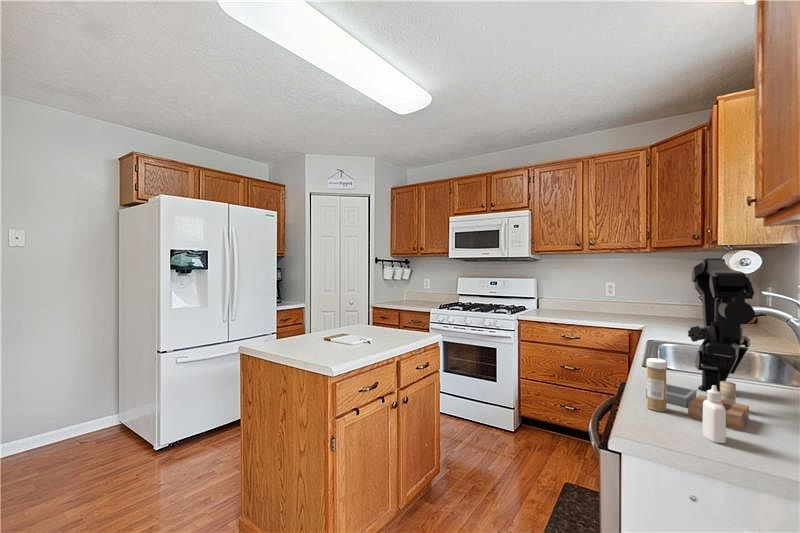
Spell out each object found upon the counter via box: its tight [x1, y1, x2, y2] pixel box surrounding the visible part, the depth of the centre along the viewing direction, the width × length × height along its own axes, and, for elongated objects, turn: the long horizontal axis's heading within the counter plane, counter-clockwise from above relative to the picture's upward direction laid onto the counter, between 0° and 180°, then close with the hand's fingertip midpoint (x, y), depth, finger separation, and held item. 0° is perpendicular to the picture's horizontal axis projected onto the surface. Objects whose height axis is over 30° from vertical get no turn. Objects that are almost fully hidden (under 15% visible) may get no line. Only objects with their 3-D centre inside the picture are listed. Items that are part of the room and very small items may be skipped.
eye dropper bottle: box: [702, 385, 727, 444], centre depth 85 cm, size 4×6×12 cm
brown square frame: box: [687, 394, 750, 432], centre depth 95 cm, size 10×10×4 cm
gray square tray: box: [645, 383, 698, 408], centre depth 109 cm, size 10×10×3 cm
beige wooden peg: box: [720, 380, 737, 403], centre depth 101 cm, size 3×3×7 cm
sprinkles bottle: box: [646, 357, 668, 413], centre depth 101 cm, size 5×5×14 cm
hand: (727, 375), depth 101 cm, fingers open, 9 cm apart
